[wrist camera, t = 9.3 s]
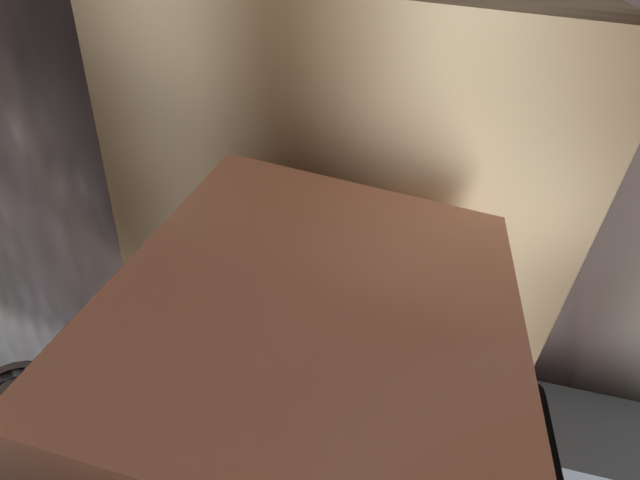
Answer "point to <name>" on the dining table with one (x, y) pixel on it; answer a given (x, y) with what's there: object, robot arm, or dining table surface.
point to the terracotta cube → (291, 346)
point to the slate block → (594, 434)
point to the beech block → (377, 109)
